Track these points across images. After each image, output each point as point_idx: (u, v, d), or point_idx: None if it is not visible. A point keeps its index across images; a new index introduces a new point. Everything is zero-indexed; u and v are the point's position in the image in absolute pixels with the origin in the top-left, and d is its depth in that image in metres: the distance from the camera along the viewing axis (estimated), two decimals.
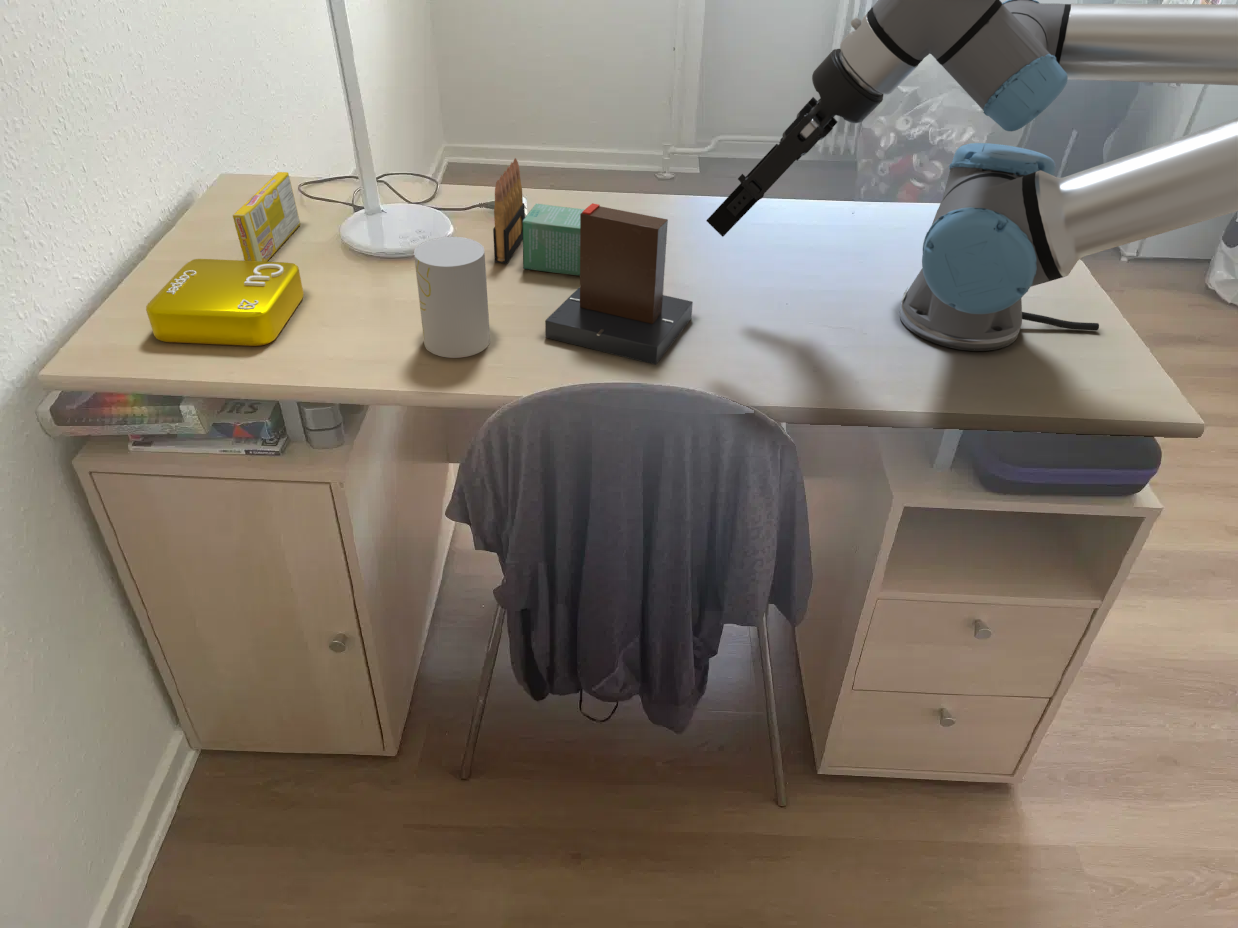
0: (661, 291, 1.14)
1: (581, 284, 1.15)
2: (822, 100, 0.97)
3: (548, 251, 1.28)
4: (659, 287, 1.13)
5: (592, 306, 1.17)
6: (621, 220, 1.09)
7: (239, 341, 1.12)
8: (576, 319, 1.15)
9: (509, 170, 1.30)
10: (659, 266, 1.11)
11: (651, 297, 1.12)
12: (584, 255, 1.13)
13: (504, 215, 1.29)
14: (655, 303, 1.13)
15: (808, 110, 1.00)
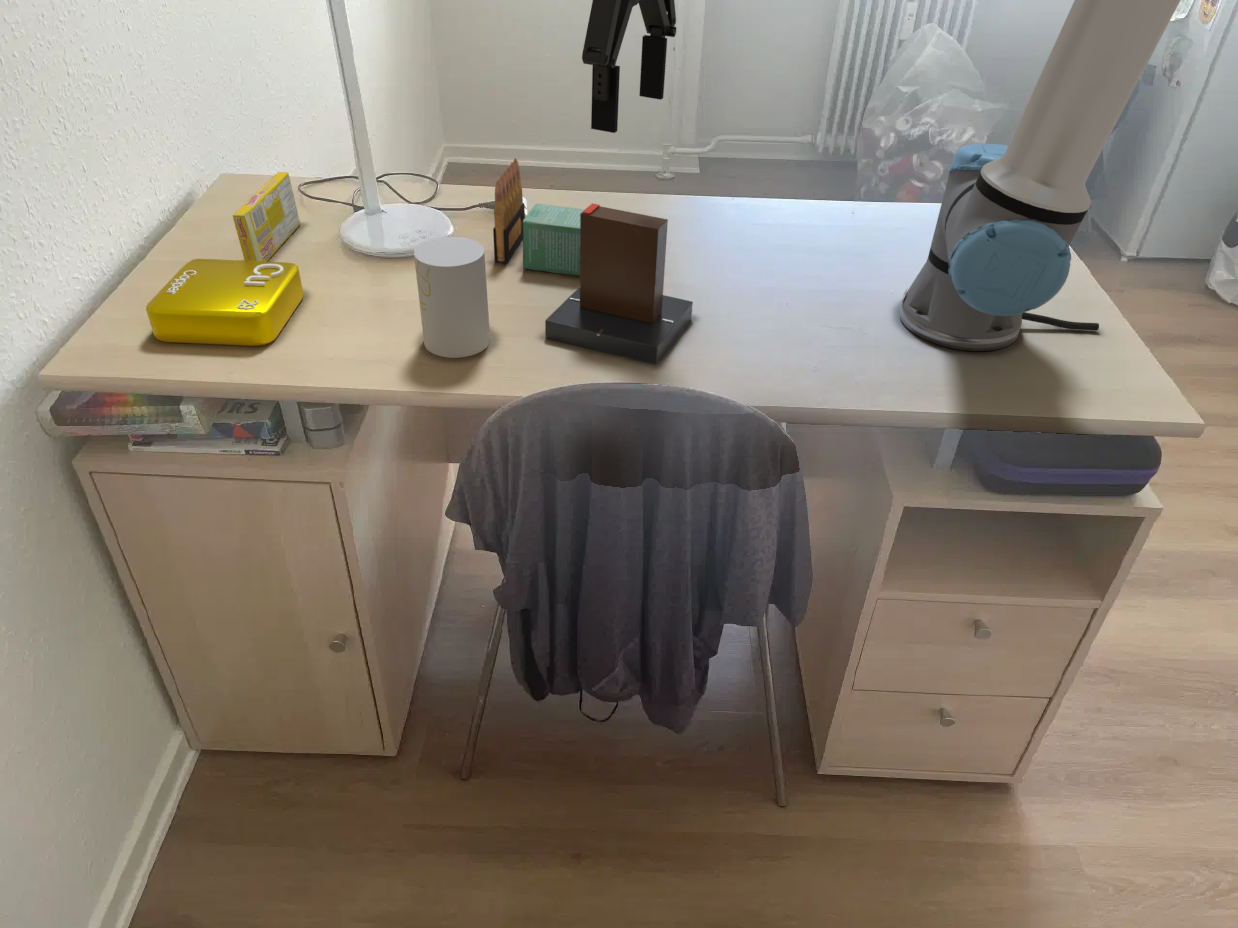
0: (661, 291, 1.14)
1: (581, 284, 1.15)
2: None
3: (548, 251, 1.28)
4: (659, 287, 1.13)
5: (592, 306, 1.17)
6: (621, 220, 1.09)
7: (239, 341, 1.12)
8: (576, 319, 1.15)
9: (509, 170, 1.30)
10: (659, 266, 1.11)
11: (651, 297, 1.12)
12: (584, 255, 1.13)
13: (504, 215, 1.29)
14: (655, 303, 1.13)
15: None
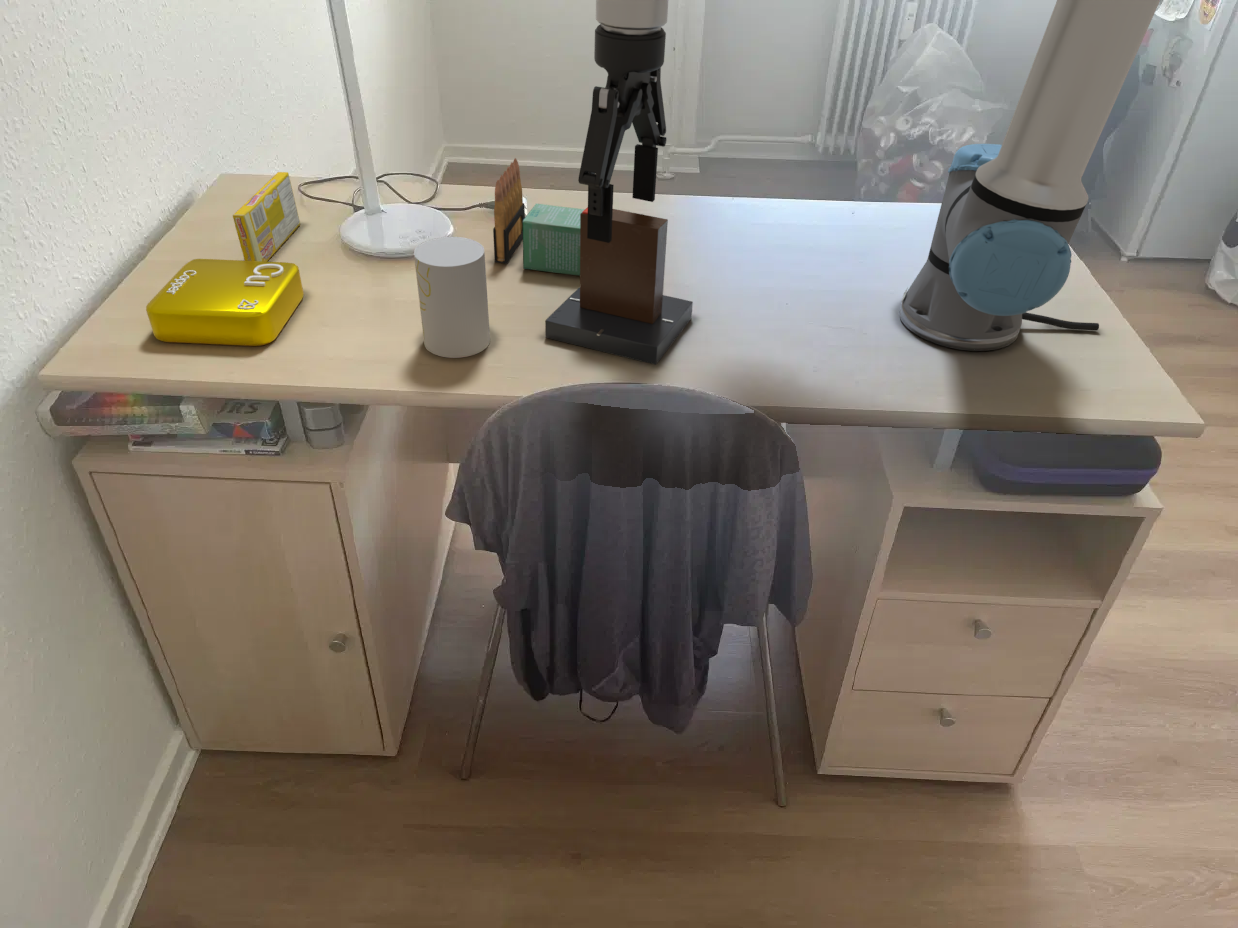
0: (661, 291, 1.14)
1: (581, 284, 1.15)
2: (607, 70, 0.97)
3: (548, 251, 1.28)
4: (659, 287, 1.13)
5: (592, 306, 1.17)
6: (621, 220, 1.09)
7: (239, 341, 1.12)
8: (576, 319, 1.15)
9: (509, 170, 1.30)
10: (659, 266, 1.11)
11: (651, 297, 1.12)
12: (584, 255, 1.13)
13: (504, 215, 1.29)
14: (655, 303, 1.13)
15: None
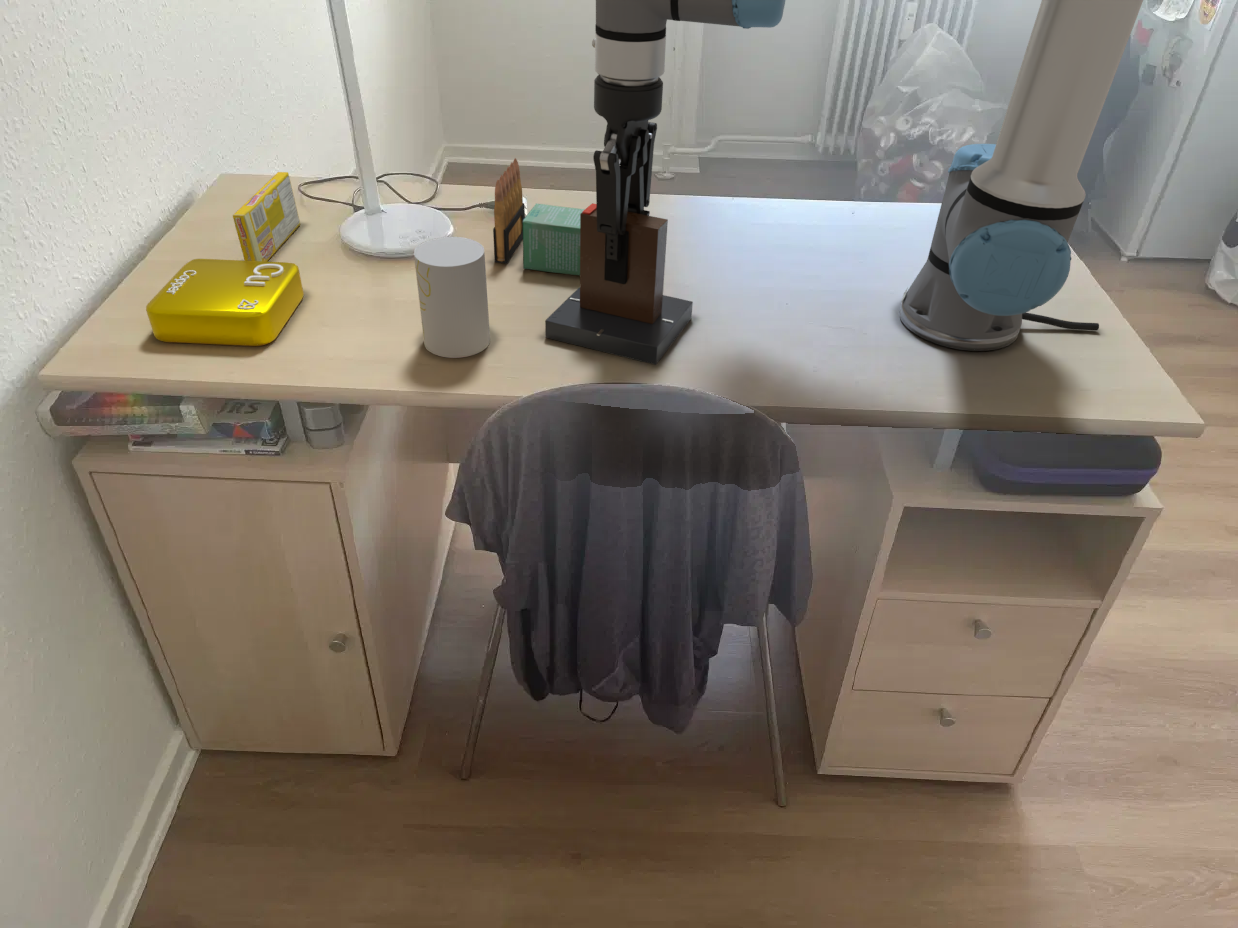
0: (661, 291, 1.14)
1: (581, 284, 1.15)
2: (606, 119, 1.00)
3: (548, 251, 1.28)
4: (659, 287, 1.13)
5: (592, 306, 1.17)
6: None
7: (239, 341, 1.12)
8: (576, 319, 1.15)
9: (509, 170, 1.30)
10: (659, 266, 1.11)
11: (651, 297, 1.12)
12: (584, 255, 1.13)
13: (504, 215, 1.29)
14: (655, 303, 1.13)
15: None
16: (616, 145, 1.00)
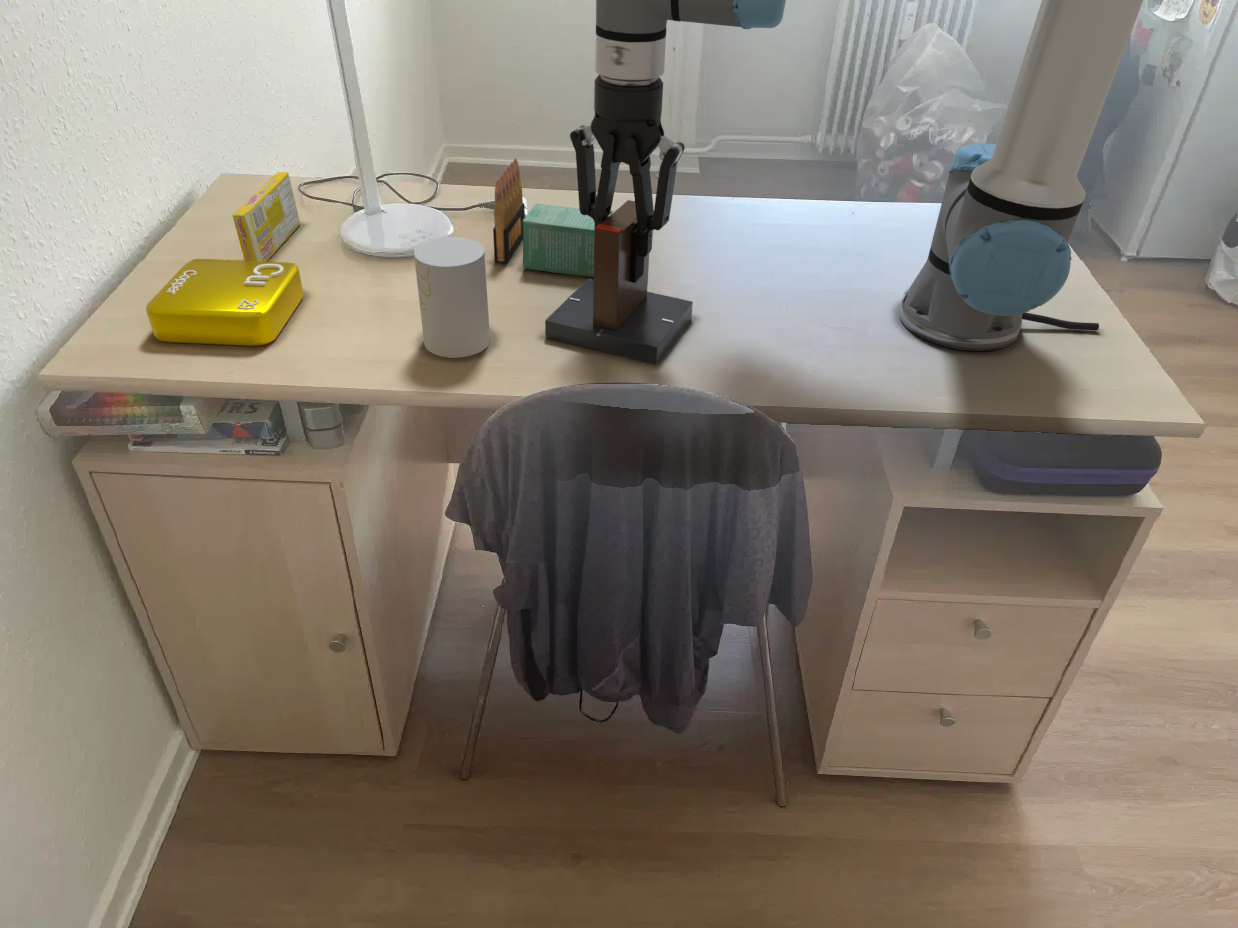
0: None
1: (617, 305, 1.11)
2: (654, 119, 1.00)
3: (548, 251, 1.28)
4: None
5: (622, 320, 1.14)
6: (632, 217, 1.09)
7: (239, 341, 1.12)
8: (576, 319, 1.15)
9: (509, 170, 1.30)
10: None
11: (647, 272, 1.18)
12: (620, 274, 1.09)
13: (504, 215, 1.29)
14: None
15: (638, 142, 1.02)
16: None
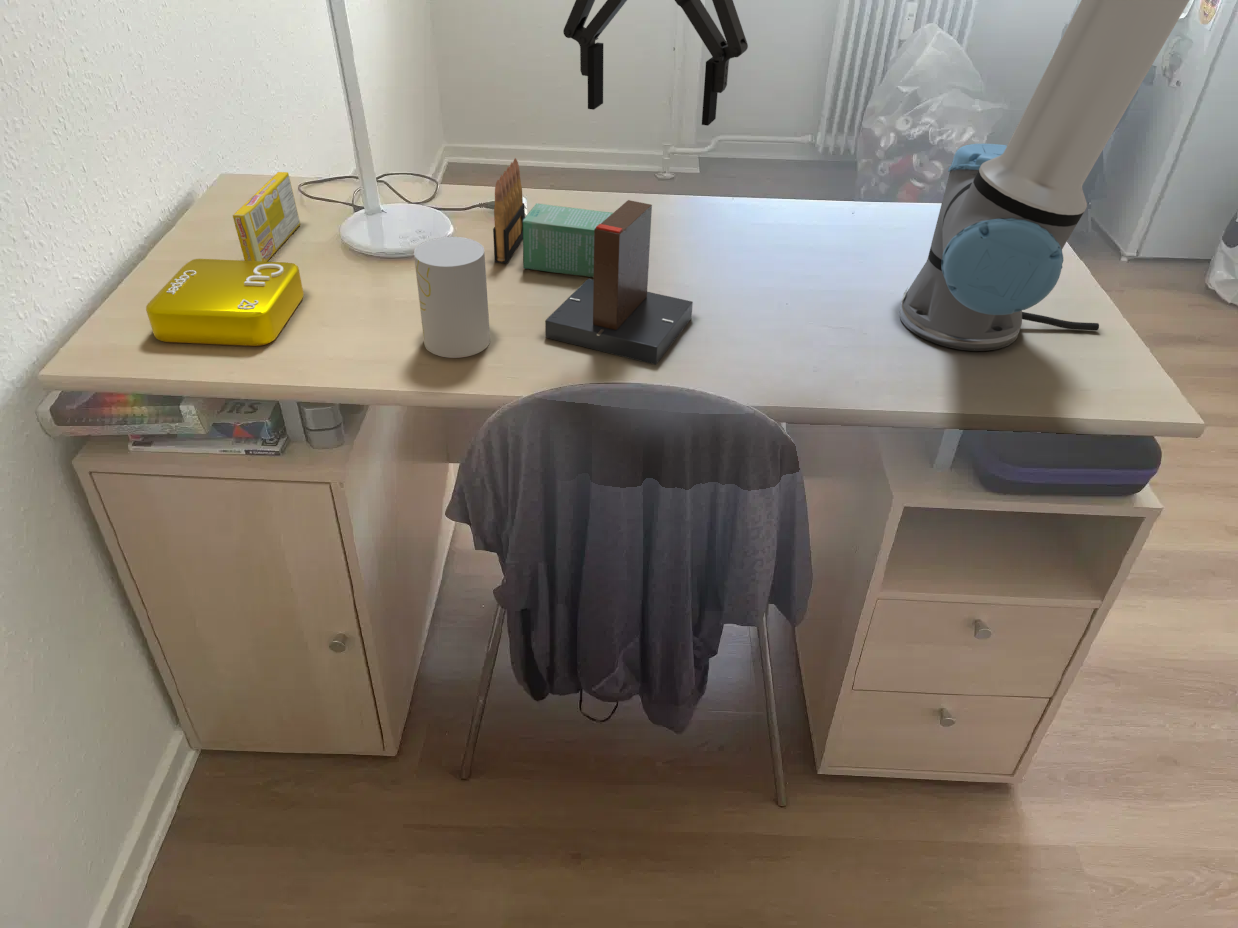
0: None
1: (617, 305, 1.11)
2: None
3: (548, 251, 1.28)
4: None
5: (622, 320, 1.14)
6: (632, 217, 1.09)
7: (239, 341, 1.12)
8: (576, 319, 1.15)
9: (509, 170, 1.30)
10: None
11: (647, 272, 1.18)
12: (620, 274, 1.09)
13: (504, 215, 1.29)
14: None
15: None
16: None
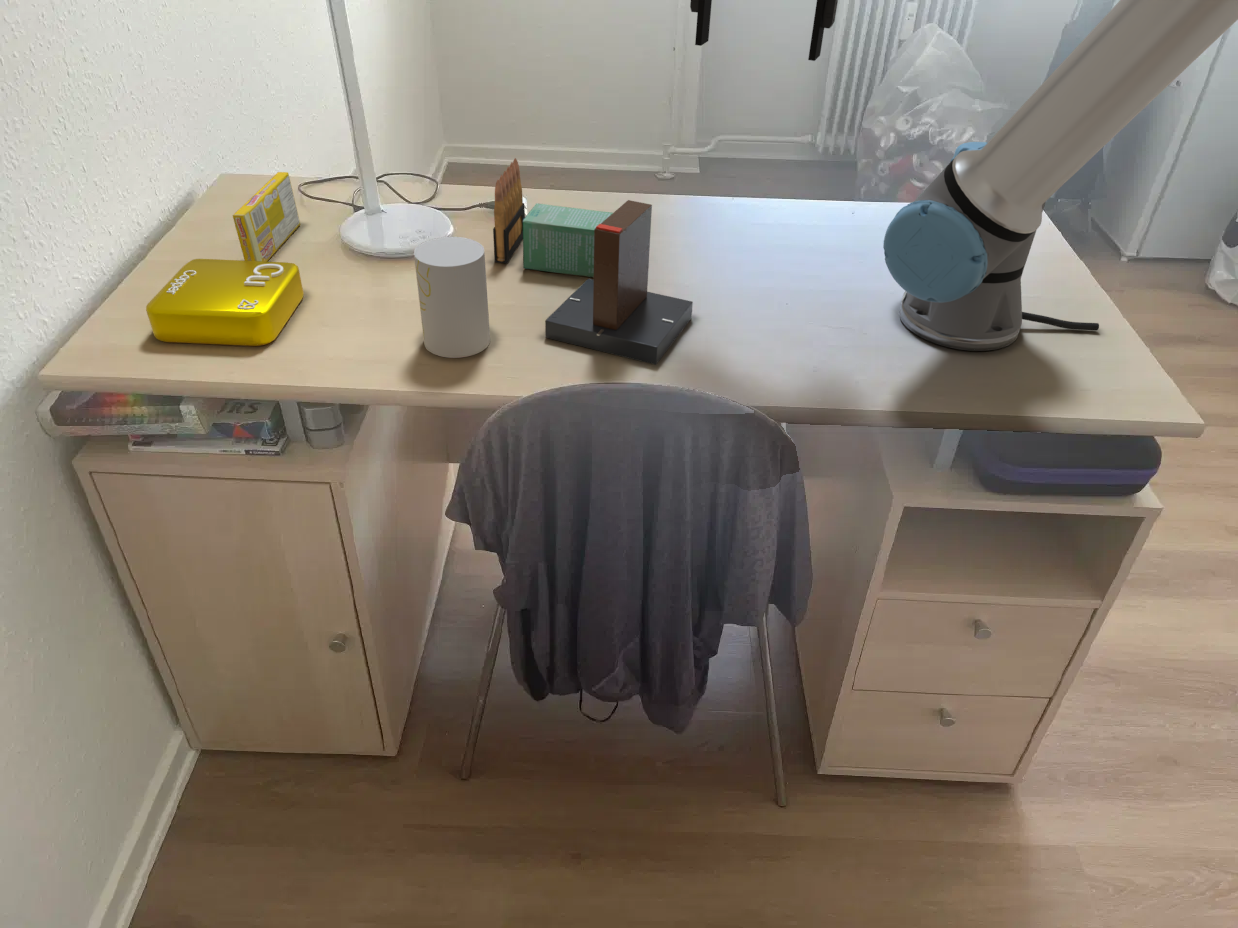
0: None
1: (617, 305, 1.11)
2: None
3: (548, 251, 1.28)
4: None
5: (622, 320, 1.14)
6: (632, 217, 1.09)
7: (239, 341, 1.12)
8: (576, 319, 1.15)
9: (509, 170, 1.30)
10: None
11: (647, 272, 1.18)
12: (620, 274, 1.09)
13: (504, 215, 1.29)
14: None
15: None
16: None
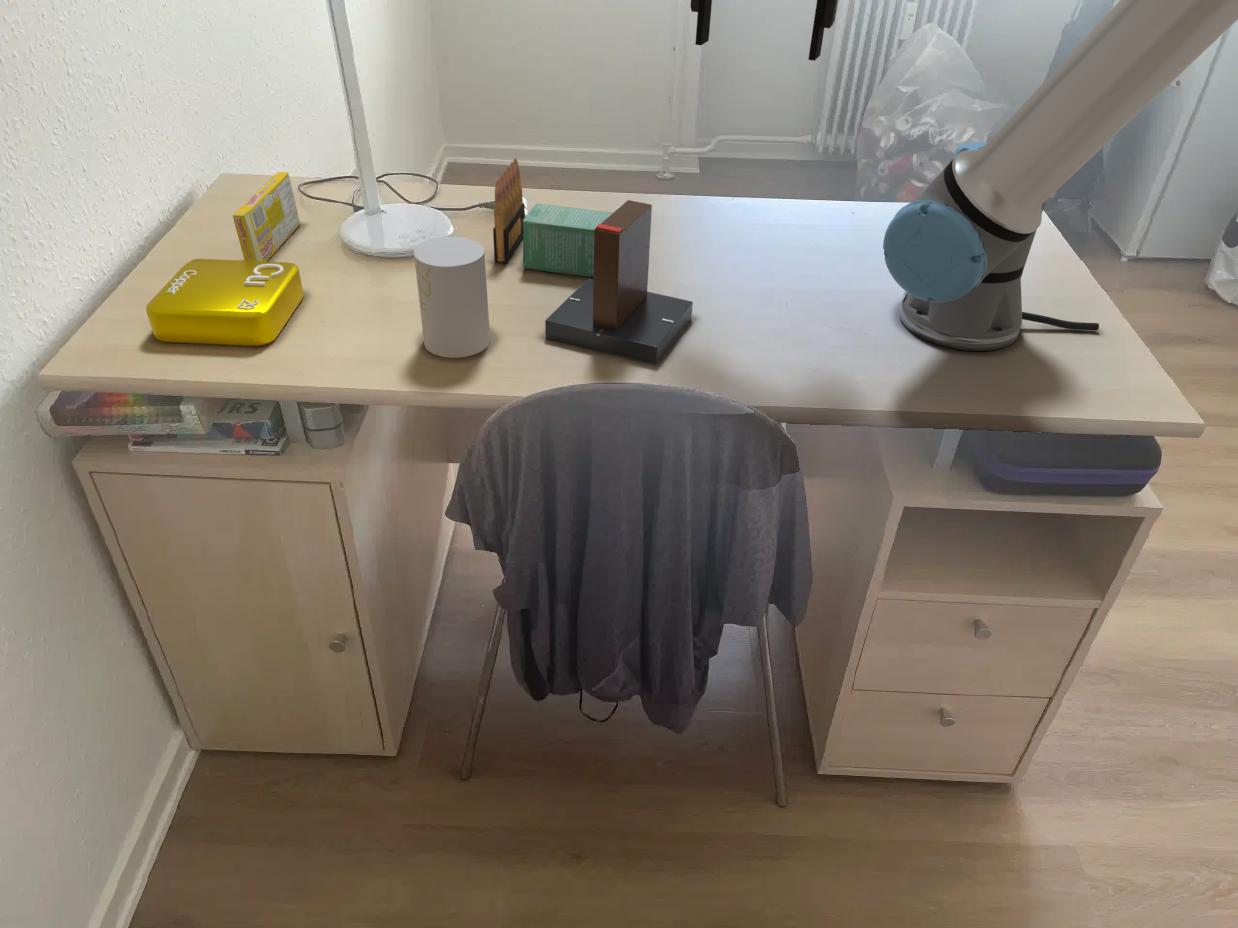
0: None
1: (617, 305, 1.11)
2: None
3: (548, 251, 1.28)
4: None
5: (622, 320, 1.14)
6: (632, 217, 1.09)
7: (239, 341, 1.12)
8: (576, 319, 1.15)
9: (509, 170, 1.30)
10: None
11: (647, 272, 1.18)
12: (620, 274, 1.09)
13: (504, 215, 1.29)
14: None
15: None
16: None
